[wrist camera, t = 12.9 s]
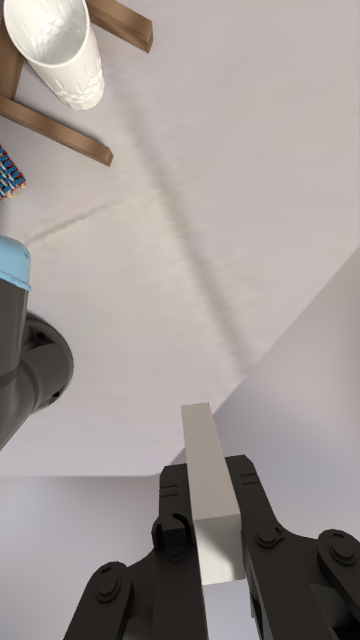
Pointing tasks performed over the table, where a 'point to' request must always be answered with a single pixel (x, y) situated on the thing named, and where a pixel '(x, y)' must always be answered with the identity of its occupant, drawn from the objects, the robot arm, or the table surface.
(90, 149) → the walnut bay
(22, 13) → the white cup
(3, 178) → the woven mat
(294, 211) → the table surface
